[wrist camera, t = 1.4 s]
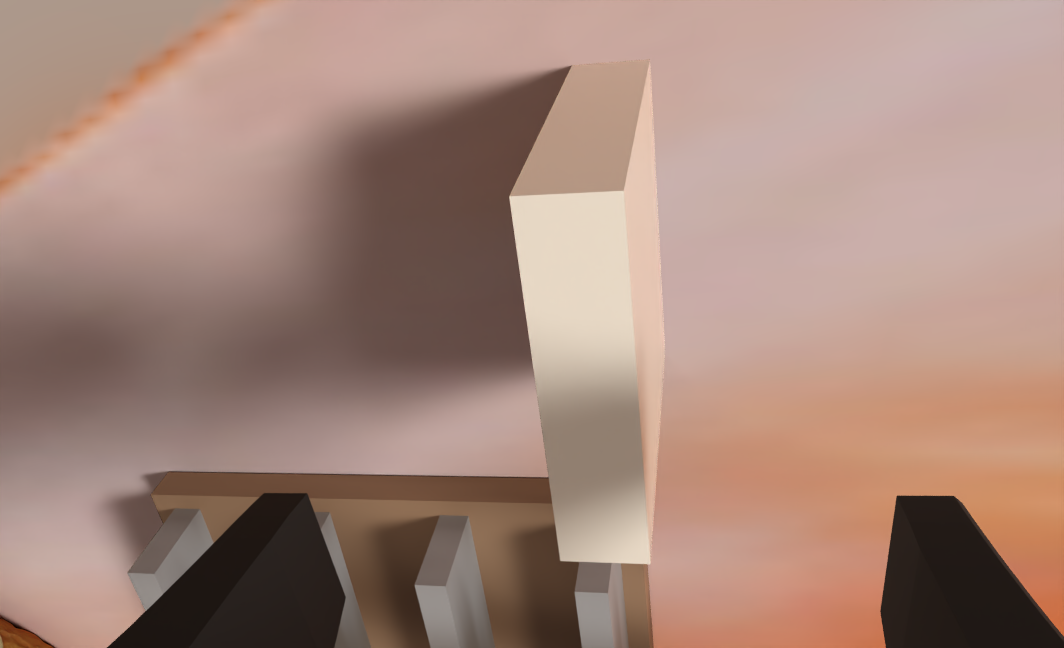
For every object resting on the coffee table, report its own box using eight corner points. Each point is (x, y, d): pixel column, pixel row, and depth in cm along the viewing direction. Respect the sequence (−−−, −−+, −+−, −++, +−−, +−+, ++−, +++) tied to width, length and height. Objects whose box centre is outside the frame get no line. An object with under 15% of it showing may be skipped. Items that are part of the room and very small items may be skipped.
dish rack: (657, 700, 28) (651, 807, 25) (251, 673, 31) (203, 767, 28) (641, 479, 24) (632, 578, 21) (168, 471, 26) (100, 558, 23)
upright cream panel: (664, 350, 21) (650, 564, 16) (599, 351, 22) (560, 561, 16) (650, 59, 18) (623, 191, 12) (571, 64, 18) (509, 196, 12)
